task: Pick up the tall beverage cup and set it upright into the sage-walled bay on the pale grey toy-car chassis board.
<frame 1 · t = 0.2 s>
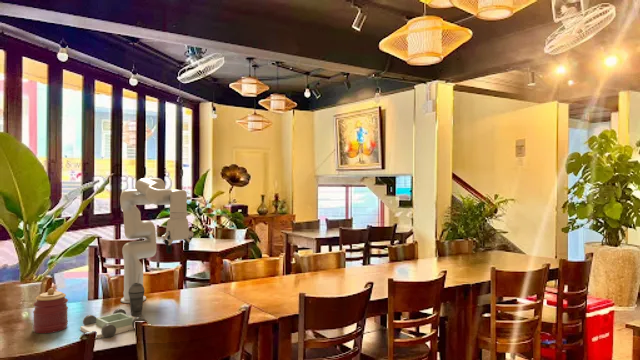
hand: (177, 252, 210), 31 cm above the table, tool pointing down, fingers open, 9 cm apart
canister: (50, 329, 193), on the table
chassis bay: (114, 327, 195), on the table
beverage cup: (136, 316, 213), on the table
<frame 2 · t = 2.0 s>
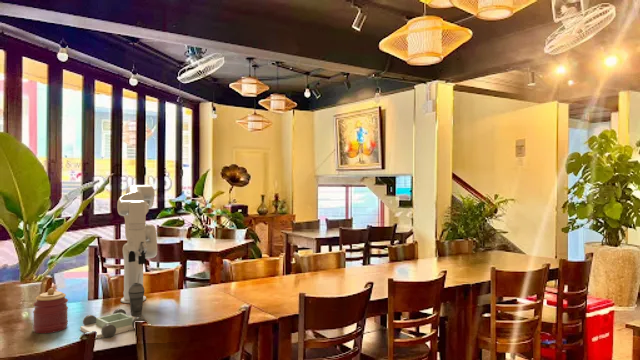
hand: (136, 262, 212), 25 cm above the table, tool pointing down, fingers open, 9 cm apart
nothing on the table moved.
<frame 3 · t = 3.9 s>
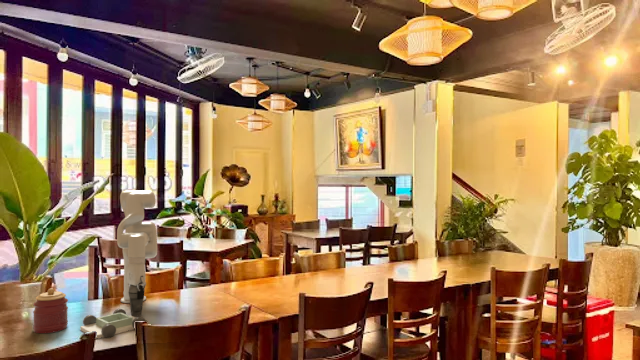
hand: (136, 297, 213), 9 cm above the table, tool pointing down, fingers closed on beverage cup, 7 cm apart
beverage cup: (136, 316, 213), on the table, touching gripper
everything else where it was.
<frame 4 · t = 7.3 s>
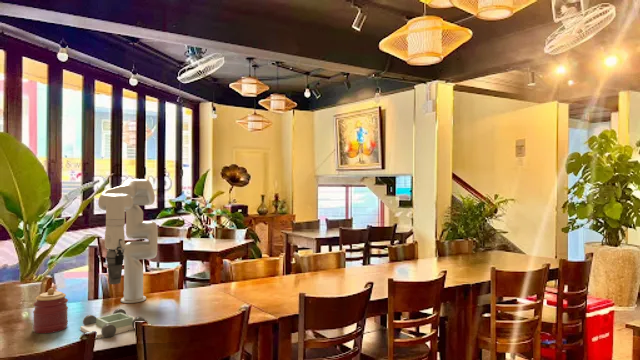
hand: (115, 263, 195), 28 cm above the table, tool pointing down, fingers closed on beverage cup, 7 cm apart
beverage cup: (114, 283, 195), point 19 cm above the table, touching gripper
everything else where it was.
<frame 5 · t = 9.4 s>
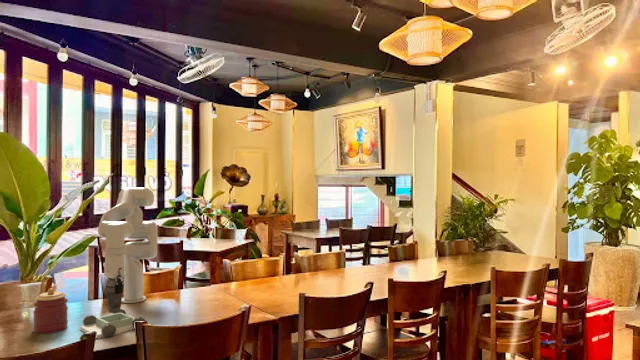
hand: (114, 291, 195), 16 cm above the table, tool pointing down, fingers closed on beverage cup, 7 cm apart
beverage cup: (114, 312, 195), point 7 cm above the table, touching gripper
everything else where it was.
when the fingers open (12 cm above the table, at t = 10.9 s): beverage cup drops 1 cm, resting on chassis bay.
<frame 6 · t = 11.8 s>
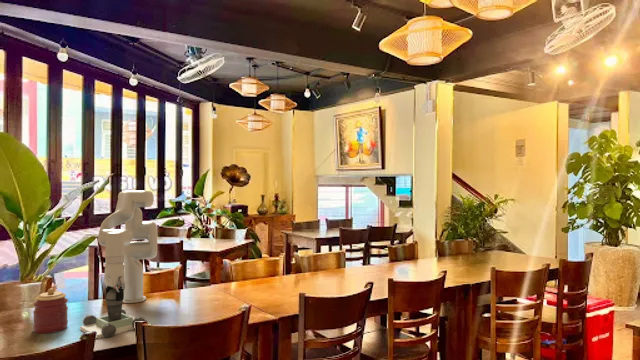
hand: (114, 298, 195), 13 cm above the table, tool pointing down, fingers open, 9 cm apart
beverage cup: (114, 324, 195), point 1 cm above the table, touching chassis bay
everything else where it was.
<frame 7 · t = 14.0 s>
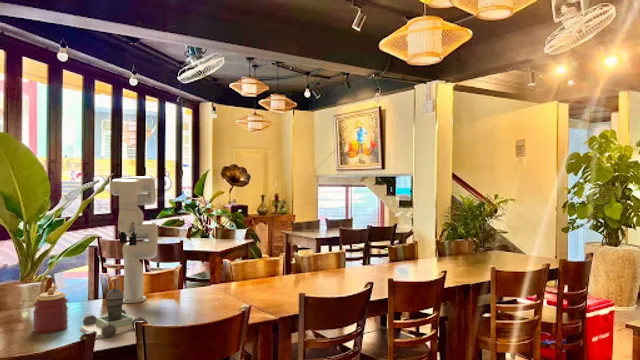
hand: (127, 244, 205), 35 cm above the table, tool pointing down, fingers open, 9 cm apart
nothing on the table moved.
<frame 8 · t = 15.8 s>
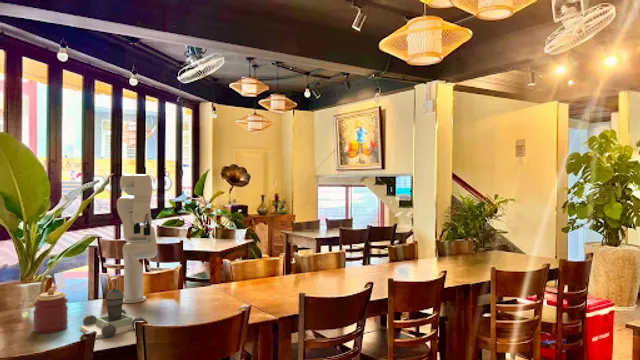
hand: (141, 234, 218), 38 cm above the table, tool pointing down, fingers open, 9 cm apart
nothing on the table moved.
at the end: beverage cup 0.1 cm off-centre on the chassis bay, point 1.3 cm above the chassis bay's base; beverage cup tilted 0°; the gripper is holding nothing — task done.
